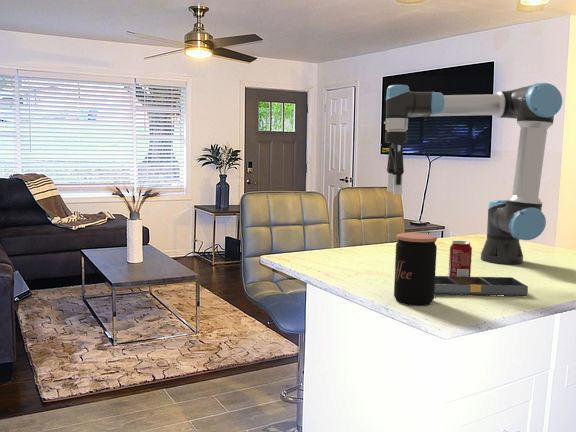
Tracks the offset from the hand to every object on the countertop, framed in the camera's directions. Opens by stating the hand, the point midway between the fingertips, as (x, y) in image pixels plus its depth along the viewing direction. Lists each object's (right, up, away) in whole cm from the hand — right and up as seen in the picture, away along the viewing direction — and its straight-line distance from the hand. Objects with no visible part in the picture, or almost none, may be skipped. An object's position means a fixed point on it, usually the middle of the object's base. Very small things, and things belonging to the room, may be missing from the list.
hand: (394, 193), depth 193 cm
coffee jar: (-3, -31, -42) cm, 53 cm away
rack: (+16, -30, -29) cm, 45 cm away
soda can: (+18, -28, -13) cm, 36 cm away
